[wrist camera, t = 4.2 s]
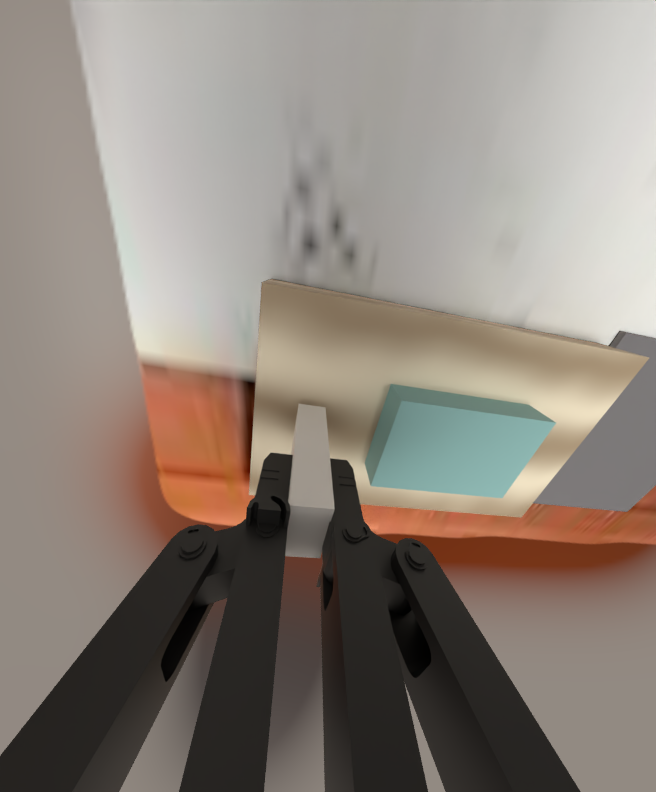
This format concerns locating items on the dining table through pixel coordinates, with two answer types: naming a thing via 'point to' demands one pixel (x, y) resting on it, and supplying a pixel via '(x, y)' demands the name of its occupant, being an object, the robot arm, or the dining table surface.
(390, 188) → the dining table surface
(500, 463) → the teal foam pad
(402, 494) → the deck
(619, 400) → the mat
